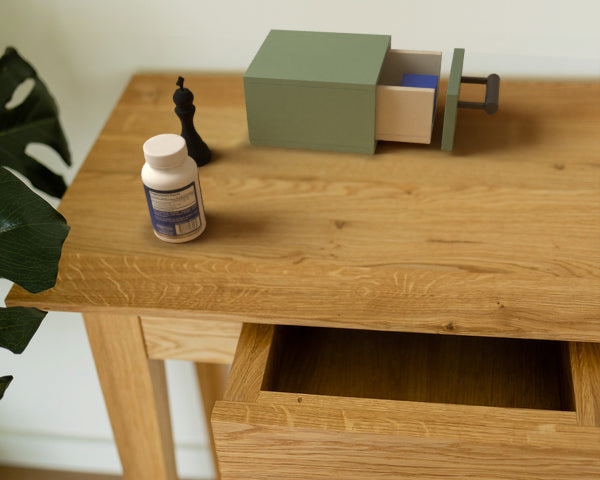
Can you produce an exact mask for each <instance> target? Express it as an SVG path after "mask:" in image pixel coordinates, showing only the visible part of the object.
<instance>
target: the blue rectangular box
mask: <svg viewBox="0 0 600 480" xmlns="http://www.w3.org/2000/svg"><path fill="white" fill-rule="evenodd" d="M437 86H438V76H434V75H416V74H403V77H402V81H401V85H400V87H415V88H431V89H435V95H434V107H433V119H432V124H433V120H434V114H435V109H436V98H437ZM436 110H437V109H436ZM434 121H435V120H434Z"/></svg>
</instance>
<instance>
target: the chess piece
mask: <svg viewBox="0 0 600 480" xmlns="http://www.w3.org/2000/svg"><path fill="white" fill-rule="evenodd" d="M184 83H185V77H183V76H182V75H179V76H178V77H177V81H176V82H175V85H176V86H177V87H178V88H177V89H175V91H174V92H173V94H172V101H173V103H174V105H175V107H174V113H175V115H176V116H177V118H178V119H179V121H180V125H181V130H180V131H181V132H180V135H179V136H181V137H183V138H184V140H185V142H186V146H187V151H188V156H190V157H191V158H192V159H193V160H194V161H195V163H196V165H197V168H199V167H203V166H205V165H206V164H208V163H209V162H210V161H211V160H212V158H213V153H212V151H211V149H210V148H209V146H208V144H207V143H206V142H205V141H204V140H203V139H202V137H201V135H200V134H199V132H198V131H197V129H196V126H195V124H194V118H195V114H196V111H197V108H196V105H195V104H194V100H195V95H194V93H193V92H192V90H190V89H189V88H188V87H185V86H184Z"/></svg>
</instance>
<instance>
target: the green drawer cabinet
mask: <svg viewBox="0 0 600 480" xmlns="http://www.w3.org/2000/svg"><path fill="white" fill-rule="evenodd" d="M389 49H392V35H391V34H377V33H375V34H373V33H355V32H353V33H352V32H333V31H313V30H312V31H311V30H294V29H293V30H292V29H291V30H290V29H276V28H275V29H272V28H271V29H270V31H268V34H267V35H266V36H265V39H264V40H263V41H262V44H261V46H260V47H259V49H258V51H256V54H255V55H254V57H253V59H252V61H251V62H250V64H249V65H248V67H247V68H246V70H245V72H244V74H243V75H242V82H243V92H244V103H245V113H246V122H247V123H246V125H247V133H248V142H249V145H250V146H261V147H272V148H285V149H297V150H308V151H321V152H334V153H335V152H336V153H347V154H360V155H371V156H372V155H373V156H374V155H375V152H376V149H377V146H378V141H379V140H375V129H376V91H377V85H378V81H379V78H380V75H381V72H382V69H383V66H384V62H385V59H386V56H387V53H388V50H389Z"/></svg>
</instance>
